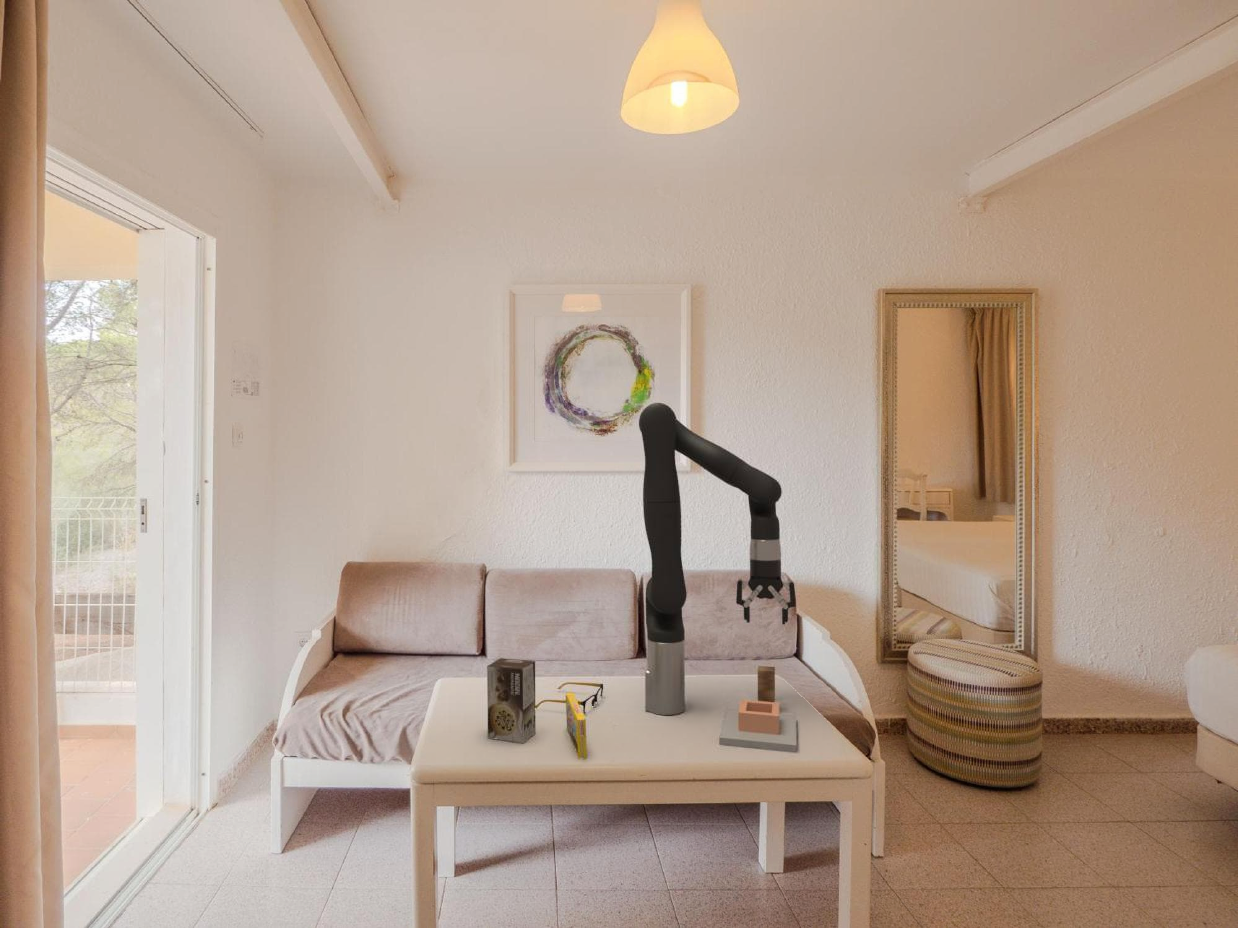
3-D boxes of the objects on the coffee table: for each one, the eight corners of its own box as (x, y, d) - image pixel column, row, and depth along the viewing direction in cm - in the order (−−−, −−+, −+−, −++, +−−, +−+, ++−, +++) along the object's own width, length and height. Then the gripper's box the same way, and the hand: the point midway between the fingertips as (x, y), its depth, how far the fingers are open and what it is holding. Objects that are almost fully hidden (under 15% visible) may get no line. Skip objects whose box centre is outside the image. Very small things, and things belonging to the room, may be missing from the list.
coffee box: (536, 732, 146) (536, 660, 146) (523, 744, 140) (523, 668, 140) (500, 727, 149) (500, 656, 149) (486, 738, 143) (486, 664, 143)
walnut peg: (757, 711, 159) (757, 670, 159) (758, 705, 163) (758, 665, 163) (774, 712, 158) (774, 671, 158) (775, 707, 162) (774, 666, 162)
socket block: (719, 744, 140) (719, 718, 140) (727, 714, 157) (727, 691, 157) (796, 752, 136) (796, 725, 136) (796, 720, 153) (795, 697, 153)
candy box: (565, 729, 148) (565, 692, 149) (574, 728, 149) (574, 692, 149) (577, 759, 133) (577, 718, 133) (587, 758, 133) (587, 717, 133)
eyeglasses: (587, 718, 156) (587, 701, 156) (532, 711, 161) (532, 694, 161) (606, 698, 170) (606, 683, 170) (555, 692, 174) (555, 677, 174)
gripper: (734, 558, 160) (735, 624, 159) (795, 559, 156) (795, 627, 156) (737, 554, 167) (737, 618, 167) (795, 555, 163) (795, 621, 163)
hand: (766, 622), depth 161 cm, fingers open, 8 cm apart
